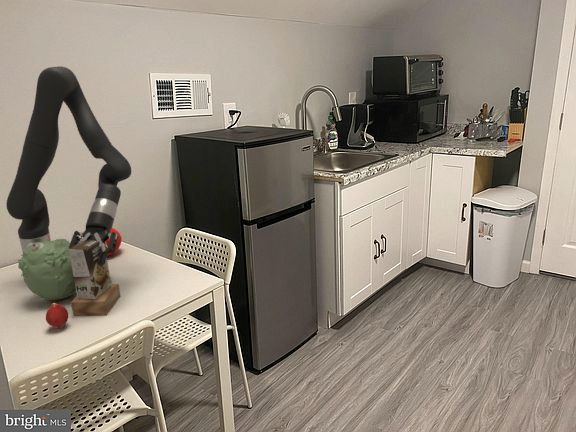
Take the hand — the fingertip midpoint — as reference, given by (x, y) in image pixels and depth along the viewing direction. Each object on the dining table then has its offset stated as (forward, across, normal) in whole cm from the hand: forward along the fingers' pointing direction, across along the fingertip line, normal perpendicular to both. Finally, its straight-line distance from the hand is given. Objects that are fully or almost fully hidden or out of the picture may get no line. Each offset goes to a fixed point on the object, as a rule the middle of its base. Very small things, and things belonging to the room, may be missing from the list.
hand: (87, 264), depth 139 cm
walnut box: (+10, 0, +12) cm, 15 cm away
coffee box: (+6, 0, +8) cm, 10 cm away
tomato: (-18, -21, +39) cm, 48 cm away
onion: (+19, -4, +2) cm, 19 cm away
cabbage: (+7, -16, +14) cm, 23 cm away
